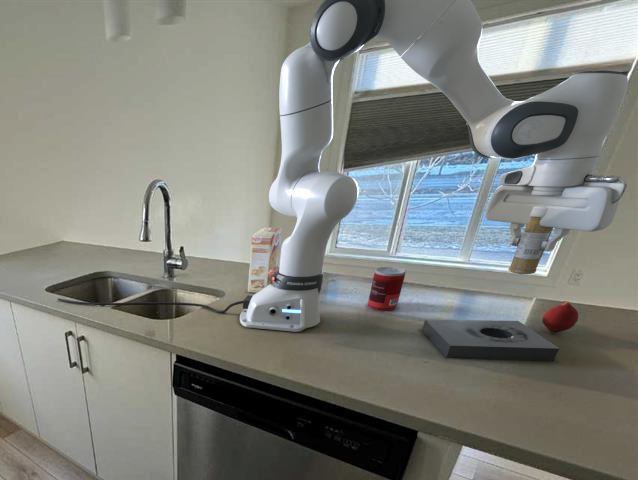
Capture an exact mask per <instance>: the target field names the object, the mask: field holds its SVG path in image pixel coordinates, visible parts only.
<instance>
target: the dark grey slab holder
mask: <svg viewBox="0 0 638 480" xmlns="http://www.w3.org/2000/svg"><path fill="white" fill-rule="evenodd" d="M421 331H422V332H423V333H424V335H426V336H427V338H428V339H429V340H430V341H431V342H432V343H433V344H434V345H435V347H436V348H437V349H438V350H439V351H440V352H441V353H442V354H443V355H444V357H446V358H456V359H457V358H458V359H482V360H483V359H485V360H486V359H487V360H512V361H513V360H514V361H543V362H545V361H546V362H554V361H555V359H556V357H557V355H558V353H559V351H560V348H559V347H558V346H557V345H556V344H555V343H552V342H550V341H549V340H548V339H546V337H545V338H544V337H543V336H542V335H540V334H538V333H537V332H535V331H534V330H533V329H532V328H530V327H529V326H527V325H525V324H524V323H522V322H521V321H520V320H492V319H491V320H488V319H486V320H485V319H484V320H482V319H481V320H480V319H475V320H474V319H424V322H423V325H422V328H421Z"/></svg>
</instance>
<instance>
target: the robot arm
mask: <svg viewBox="0 0 638 480" xmlns="http://www.w3.org/2000/svg"><path fill="white" fill-rule="evenodd" d="M482 22H483V21H482V19H481V17H480V15H479V12H478V11H477V8H476V6H475V5H474V3H473V2H472V0H323V1H322V2H321V3H320V4H319V7H318V8H317V9H316V11H315V13H314V15H313V18H312V20H311V25H310V29H309V42H308V43H307V44H305V45H303V46H301V47H299V48H297V49H295V50H293V51H292V52H291V53H290V54H288V56H287V57H286V58H285V59H284V61H283V63H282V65H281V68H280V75H279V76H280V77H279V90H278V91H279V94H278V105H279V109H278V110H279V123H280V137H281V157H280V164H279V168H278V173H277V176H276V178H275V179H274V181H273V182H272V184H271V186H270V188H269V191H268V201H269V204H270V206H271V208H272V209H273V210H275V211H276V212H278V213H279V214H281V215H283V216H287V217H290V218H291V217H292V218H296V223H295V226H294V229H293V231H292V233H291V234H290V236H288V237H287V238H285V239H284V240H283V241H282V243H281V246H280V255H279V265H278V270H277V272H276V271H275V270H270V271H269V277H270V278H271V279H270V285H268V286H267V287H265V288H264V289H262V290H261V291H259V292H258V293H253V295H246V297H244V299H243V300H238V301H235V302H233V303H230V304H229V305H227V307H226V308H224V309H223V310H217V309H215V308H212V307H211V306H209V305H206V304H202V303H193V302H175V301H174V302H172V301H171V302H169V301H159V302H158V301H149V302H148V301H146V302H145V301H144V302H142V301H141V302H90V301H78V300H71V299H65V298H60V297H59V298H58V297H57V301H61V302H64V303H70V304H78V305H89V306H147V305H149V306H153V305H155V306H156V305H158V306H159V305H161V306H163V305H165V306H189V307H190V306H191V307H200V308H205V309H207V310H210V311H212V312H214V313H218V314H224V313H226V312H228V310H230V308H232V307H234V306H237V305H242V310H241V312H240V314H239V322H240V324H241V325H242V326H243V327H245V328H250V329H259V330H260V329H261V330H272V331H281V332H282V331H283V332H294V333H299V332H303V331H304V330H305V329H308V328H312V327H315V326H317V325H319V324H320V322H321V317H320V316H321V315H320V307H319V306H320V303H319V302H320V293H321V290H322V287H323V282H324V281H323V279H324V272H323V267H324V266H323V265H324V261H325V256H326V250H327V245H328V243H329V240H330V238H331V236H332V233H333V231H334V230H335V228H336V227H337V225H338V224H339V223H340V222H341V221H342V220H344V218H346V217H347V216H348V215H349V214H351V212H352V211H353V209H354V208H355V206H356V204H357V201H358V198H359V185H358V182H357V180H356V179H354V178H353V177H352V176H350V175H347V174H344V173H341V172H338V171H328V170H327V171H325V170H323V171H321V170H320V163H321V158H322V154H323V151H324V150H325V149H326V148H327V147H328V146H329V145H330V144H331V142H332V140H333V136H334V105H333V103H334V102H333V101H334V99H333V97H334V96H333V78H334V73H335V69H336V67H337V65H338V63H340V62H341V61H343V60H344V59H346V58H349V57H351V56H352V55H355V54H356V53H357V52H358V51H359V50H361V49H362V48H363V47H364V46H365V45H366V44H368V43H369V42H370V41H371V40H374V39H379V40H383V41H384V42H386V43H387V44H389V45H390V47H392V49H393V50H394V51H395V52H396V54H397V55H398V56H399V57H400V58H401V60H402V61H404V63H405V64H406V65H407V66H408V67H409V68H410V69H412V71H413V72H415V73H416V74H417V75H419V76H420V77H421V78H423V79H424V80H426V81H427V82H429V83H430V84H431V85H433V86H434V87H435V88H437V89H438V90H439V91H440V92H441V93H442V94H443V95H444V97H445V98H446V99H447V100H448V101H449V103H450V104H451V105H452V106H453V108H454V109H455V110H456V111H457V113H458V114H459V115H460V117H461V118H462V119H463V121H464V122H465V124H466V126H467V130H468V138H469V144H470V147H471V149H472V151H473V153H475V155H477V156H478V157H481V158H483V159H491V160H493V159H499V160H500V159H501V160H518V159H521V158H525V157H528V156H532V155H535V158H534V161H533V164H532V165H530V166H525V167H521V168H519V169H515V170H512V171H508V172H504V173H503V174H501V175H500V178H499V181H498V182H499V184H500V185H499V186H498V187H496V189H494V191H493V193H492V195H491V197H490V199H489V202H488V204H487V207H486V209H485V213H484V215H485V218H486V220H487V221H490V222H491V221H492V222H501V223H510V226H509V228H508V229H509V232H510V236H511V240H510V241H509V246H513V247H517V246H518V244H519V241H520V239H521V236H522V229H524V228H525V226H526V225H527V224H528V223H529V222H530V221H531V217H532V216H530V214H531V211H532V209H533V207H547V208H548V209H547V212H546V214H545V216H544V217H541V218H542V219H541V220H540V226H544V227H553V230H552V234H553V236H552V237H550V238H549V240H547V241H543V242H542V244H541V245H542V246H541V247H540V250H544V252H551V251H554V249H555V247H556V245H557V243H558V242H560V240H562V239H563V238H564V237H566V235H568V234H569V232H570V230H572V231H580V232H590V233H591V232H598V231H603V230H605V229H606V228H608V227H609V226H611V224H612V223H613V220H614V218H615V216H616V213H617V210H618V206H619V202H620V200H621V199H622V197H623V196H624V195H625V192H626V190H627V187H628V183H627V181H626V180H625V179H623V178H622V177H621V176H620V175H616V174H615V175H602V174H594V172H595V169H596V168H597V164H598V163H599V160H600V158H601V156H602V153H603V145H604V142H605V139H606V138H607V136H608V135H609V133H610V132H611V131H612V130H613V128H614V126H615V124H616V121H617V119H618V117H619V114H620V112H621V109H622V106H623V103H624V101H625V98H626V94H627V91H628V85H629V79H628V76H627V75H626V74H625V73H624V72H621V71H617V70H609V69H608V70H607V69H606V70H605V69H603V70H600V69H598V70H584V71H579V72H576V73H574V74H572V75H571V76H570V77H568V78H567V79H566V80H564V81H562V82H560V83H559V84H557V85H555V86H554V87H551V88H549V89H547V90H545V91H543V92H541V93H539V94H536V95H534V96H532V97H529V98H527V99H525V100H521V101H516V100H512V99H509V98H507V97H505V96H504V95H503V94H502V92H501V91H500V90H499V89H498V87H497V86H496V85H495V84H494V82H493V81H492V79H491V78H490V76H489V75H488V74H487V73H486V72H485V70H484V69H483V67H482V65H481V62H480V59H479V47H480V42H481V38H482V35H483V23H482ZM533 218H534V217H533Z"/></svg>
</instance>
